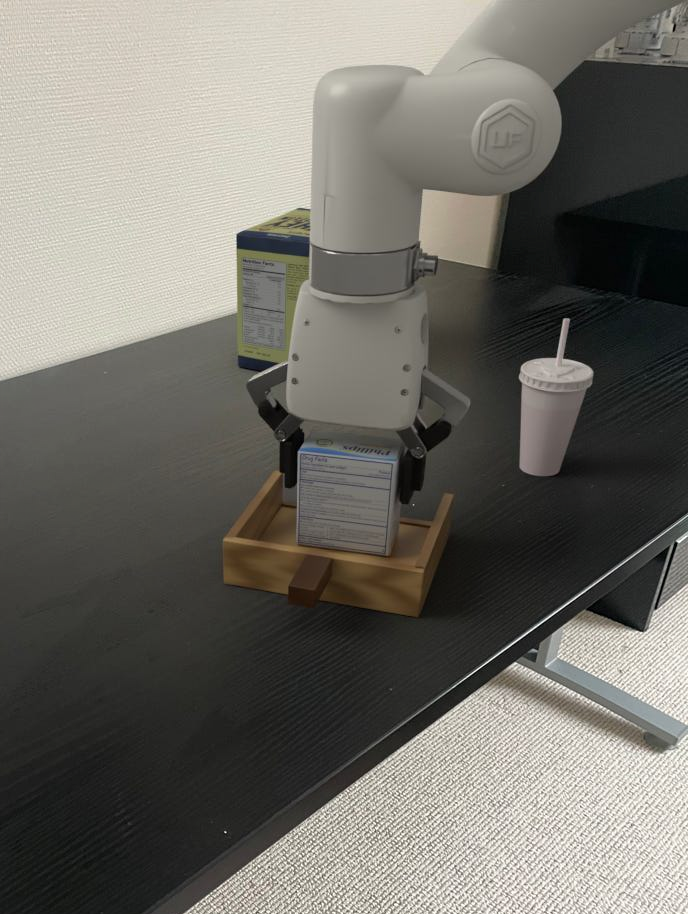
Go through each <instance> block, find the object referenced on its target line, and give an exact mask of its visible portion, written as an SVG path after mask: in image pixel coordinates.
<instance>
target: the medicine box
mask: <svg viewBox="0 0 688 914" xmlns="http://www.w3.org/2000/svg"><path fill="white" fill-rule="evenodd" d="M406 449H407V447H406V446H405V444H404V443H403V441H402V440H401V438H400V437H390V436H382V435H372V434H362V433H354V432H341V431H329V430H321V429H320V430H319V429H313V430H311V431H310V433H309V434H308V436H307V437H306V438H305V439H304V443H303V445H302V446H301V448H300V449H299V450H298V476H297V484H296V502H297V529H296V543H297V544H299V545H307V546H314V547H323V548H330V549H338V550H345V551H353V552H361V553H368V554H376V555H384V556H390V554H391V551H392V548H393V546H394V543H395V540H396V537H397V535H398V532H399V522H400V517H401V507H402V504H401V502H399V497H400V486H401V475H402V463H403V458H404V456H405V454H406Z"/></svg>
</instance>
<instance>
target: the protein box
mask: <svg viewBox="0 0 688 914" xmlns="http://www.w3.org/2000/svg"><path fill="white" fill-rule="evenodd" d="M235 237H236V239H235V240H236V241H235V243H236V244H235V245H236V246H235V247H236V248H235V249H236V251H235V252H236V297H237V298H236V310H237V311H236V315H237V318H236V319H237V320H236V321H237V322H236V323H237V324H236V326H237V328H236V329H237V330H236V331H237V367H239V368H243V369H249V370H254V371H261V372H262V371H265V370H267V369H269V368H271V367H273V366H275V365H277V364H279V363H282V362H284V361H286V360H288V358H289V349H290V341H291V333H292V326H293V320H294V314H295V308H296V304H297V299H298V295H299V291H300V287H301V285H302V284H303V282H304V281H306V280H308V279H309V244H310V208H304V207H297V208H295V209H292V210H290V211H288V212H286V213H283V214H281V215H279V216H276V217H274V218H271V219H269V220H266V221H263V222H262V223H258V224H256V225H254V226H251V227H249V228H246V229H243V230H241V231H239V232H238V233H236V235H235Z"/></svg>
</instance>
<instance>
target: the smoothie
mask: <svg viewBox="0 0 688 914" xmlns="http://www.w3.org/2000/svg"><path fill="white" fill-rule="evenodd" d="M570 322H571V319H570V318H569V317H568V318H567V317H565V318H563V319H562V325H561V330H560V336H559V342H558V348H557V353H556V357H542V358H534V359H531V360H528V361H526V362H523V364H522V365H521V366H520V370H519V372H520V373H519V374H518V380H519V381H520V383H521V402H520V403H521V405H520V435H519V437H520V438H519V439H520V440H519V466H518V467H519V470H521V471H522V472H523V473H526V474H527V475H531V476H534V477H551V476H554V475H558V473H560V470H561V467H562V464H563V461H564V458H565V455H566V452H567V449H568V446H569V443H570V440H571V438H572V435H573V431H574V429H575V425H576V423H577V419H578V417H579V413H580V411H581V407H582V404H583V402H584V398H585V396H586V392H587V389H588V388H591V386H592V385H593V380H594V379H593V378H594V370H593V369H592V367H590V366H589V365H587V364H584V363H583V362H579V361H577V360H572V359H568V358H564V354H565V349H566V343H567V339H568V333H569V326H570Z"/></svg>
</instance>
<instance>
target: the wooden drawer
mask: <svg viewBox="0 0 688 914" xmlns="http://www.w3.org/2000/svg"><path fill="white" fill-rule="evenodd" d="M283 489H284V473H280V471H279V470H273V472H272V473H271V475H269V477H268V479H267V480H266V481H265V483H264V484H263V485H262V487H261V488H260V489H259V491H258V492H257V494H256V495H255V496H254V498H253V499H252V500H251V502H250V503H249V504H248V505H247V507H246V508H245V509H244V511H243V513H242V514H241V515H240V516H239V517H238V519H237V520H236V522H235V523H234V524H233V526H232V527H231V528H230V530H229V531H228V532H227V534H226V535H225V537H224V538H223V539H222V561H223V563H222V566H223V567H222V568H223V584H225V585H230V586H234V587H235V586H236V587H241V588H246V589H253V590H259V591H263V592H270V593H276V594H282V595H287V604H288V605H292V606H297V607H302V608H309V609H315V608H316V606H317V605H318V602H319V601H321V602H326V603H332V604H338V605H345V606H349V607H356V608H361V609H367V610H374V611H378V612H383V613H384V612H385V613H389V614H390V613H391V614H394V615H395V614H396V615H403V616H407V617H412V618H419V617H420V615H421V612H422V610H423V607H424V604H425V602H426V599H427V596H428V593H429V591H430V589H431V585H432V582H433V580H434V577H435V574H436V572H437V569H438V567H439V564H440V561H441V558H442V555H443V553H444V550H445V547H446V546H447V545H446V544H447V542H448V540H449V536H450V532H451V520H452V512H453V506H454V497H455V494H454V493H447V492H444V493H443V494H442V495H443V496H442V498H441V500H440V502H439V505H438V506H437V510H436V513H435V515H434V517H433V520H432V521H430V520H425V519H417V518H410V517H403V516H400V522H399V532H398V535H397V537H396V540H395V543H394V546H393V548H392V551H391V554H390V556H384V555H376V554H368V553H361V552H353V551H345V550H338V549H330V548H323V547H314V546H307V545H299V544H297V543H296V529H297V501H292V500H291V501H290V500H285V499H284V498H283V497H284V496H283V494H284V493H283V492H284V490H283Z"/></svg>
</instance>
